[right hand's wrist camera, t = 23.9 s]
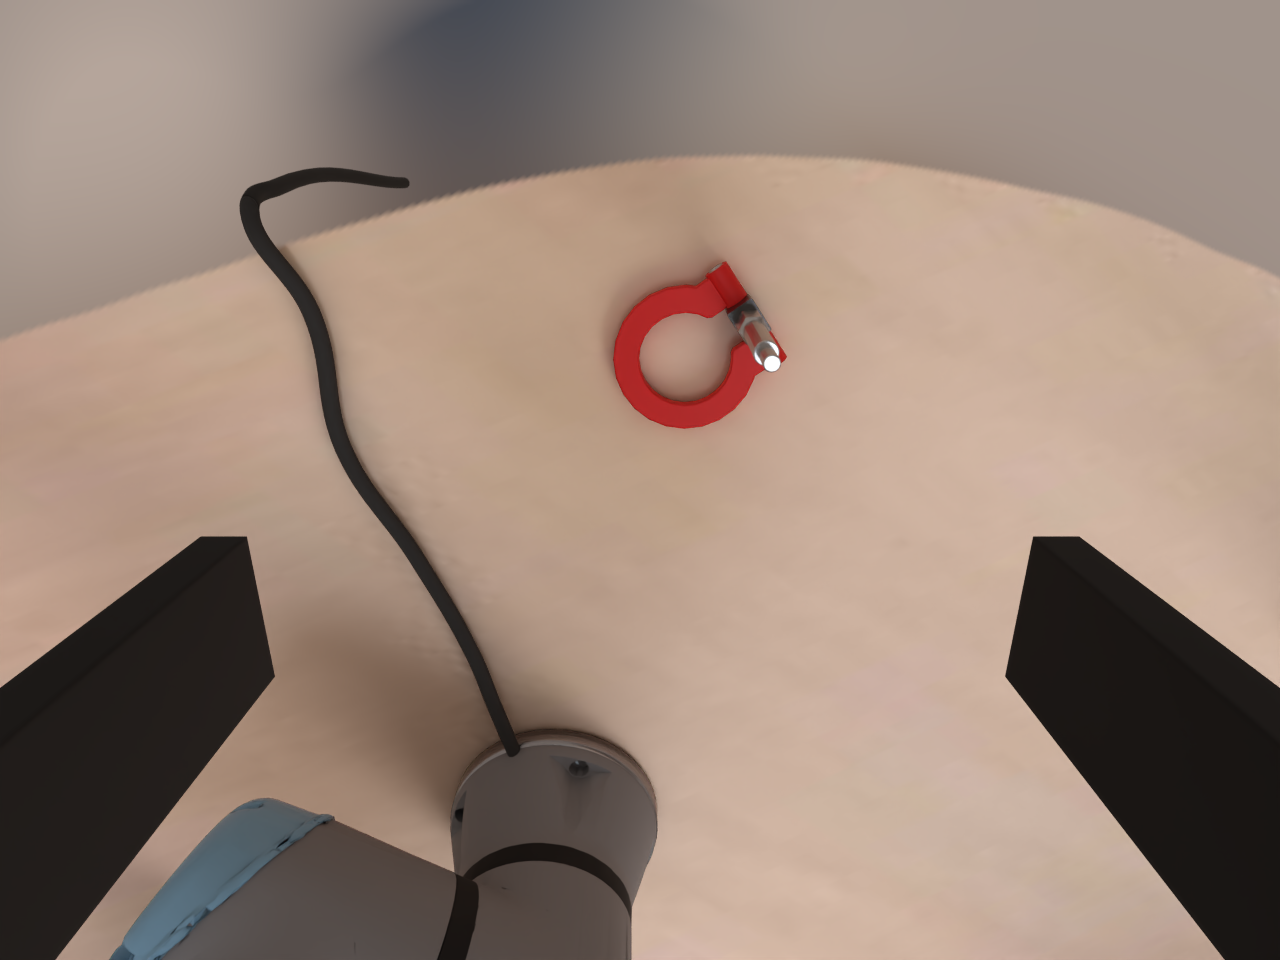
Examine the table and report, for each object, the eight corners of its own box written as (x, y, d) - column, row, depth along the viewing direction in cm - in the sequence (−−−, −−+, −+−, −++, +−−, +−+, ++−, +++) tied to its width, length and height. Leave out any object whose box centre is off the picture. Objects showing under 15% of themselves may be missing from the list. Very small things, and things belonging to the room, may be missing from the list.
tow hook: (666, 448, 47) (794, 365, 45) (664, 538, 35) (838, 431, 33) (587, 338, 44) (717, 245, 42) (554, 394, 32) (734, 268, 30)
